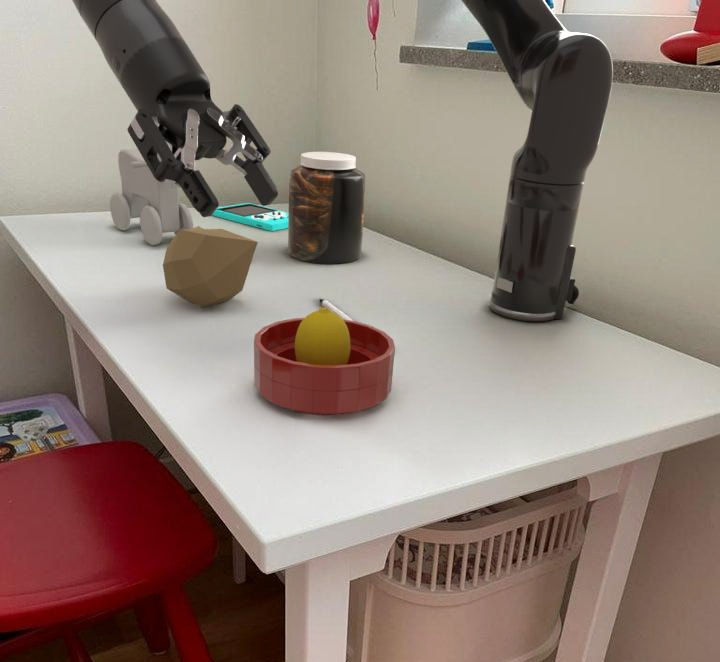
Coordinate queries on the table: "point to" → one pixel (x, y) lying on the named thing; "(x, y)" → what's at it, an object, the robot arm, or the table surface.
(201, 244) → the low-poly potato
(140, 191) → the pony
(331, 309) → the pen
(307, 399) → the bowl
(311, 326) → the lemon
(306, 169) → the jar
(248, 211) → the handheld game console
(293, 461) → the table surface
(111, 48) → the robot arm
